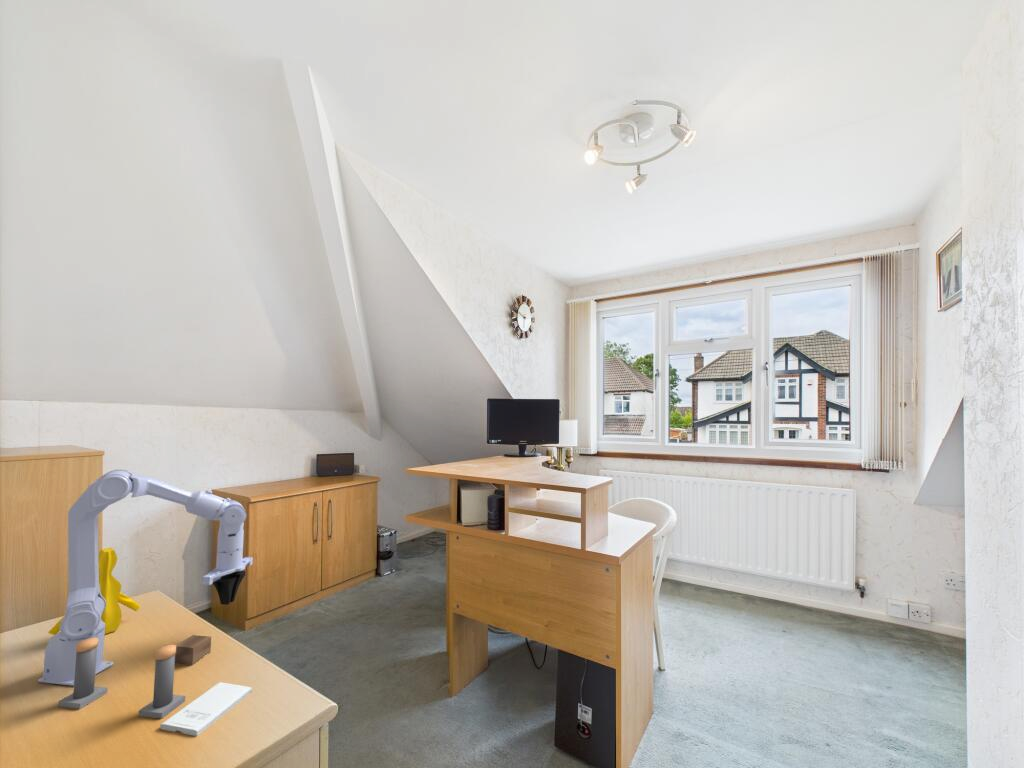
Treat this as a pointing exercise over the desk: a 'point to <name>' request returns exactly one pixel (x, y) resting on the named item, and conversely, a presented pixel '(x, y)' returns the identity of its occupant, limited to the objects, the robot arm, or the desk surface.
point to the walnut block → (192, 649)
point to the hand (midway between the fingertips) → (227, 602)
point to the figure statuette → (108, 593)
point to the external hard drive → (206, 709)
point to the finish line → (89, 692)
